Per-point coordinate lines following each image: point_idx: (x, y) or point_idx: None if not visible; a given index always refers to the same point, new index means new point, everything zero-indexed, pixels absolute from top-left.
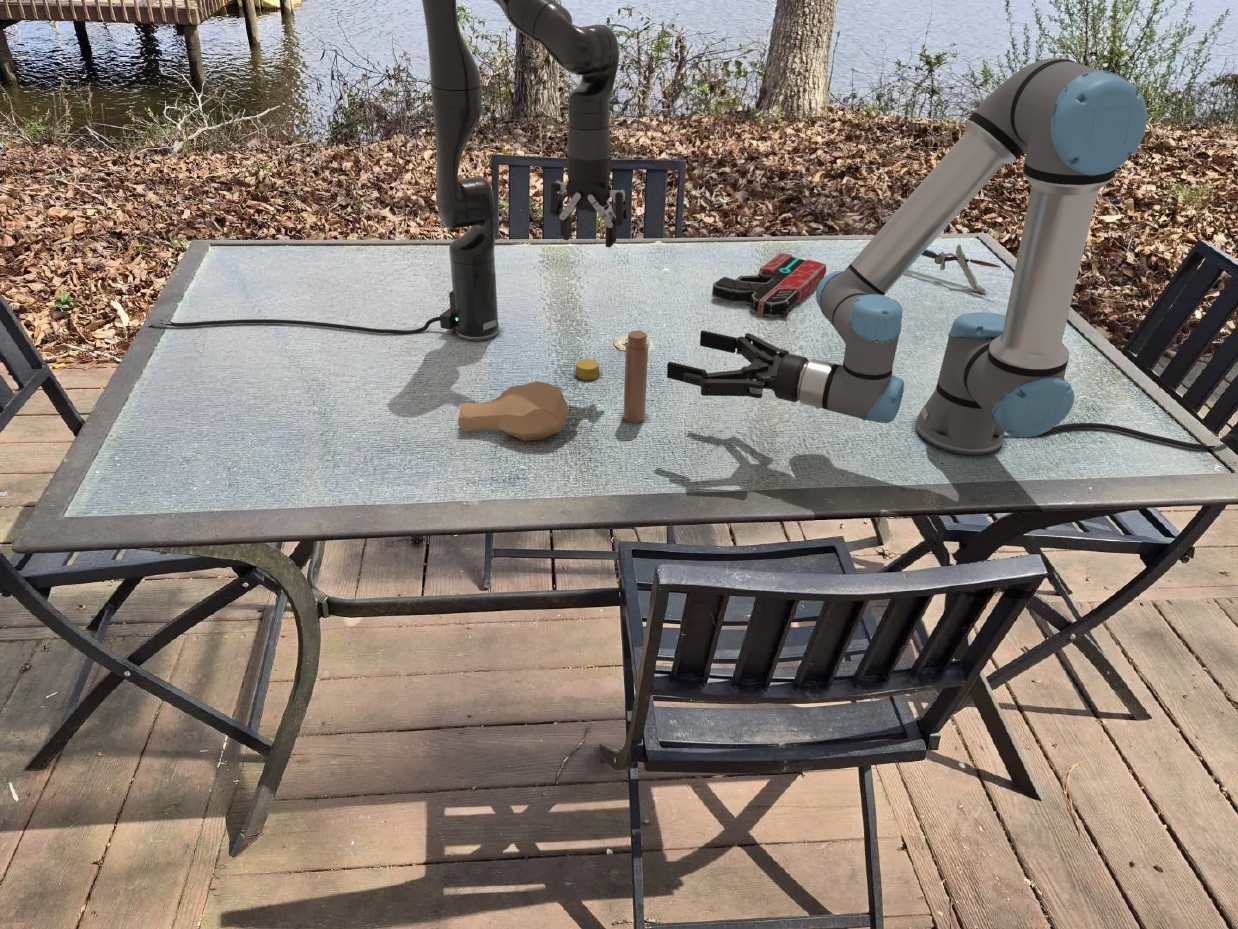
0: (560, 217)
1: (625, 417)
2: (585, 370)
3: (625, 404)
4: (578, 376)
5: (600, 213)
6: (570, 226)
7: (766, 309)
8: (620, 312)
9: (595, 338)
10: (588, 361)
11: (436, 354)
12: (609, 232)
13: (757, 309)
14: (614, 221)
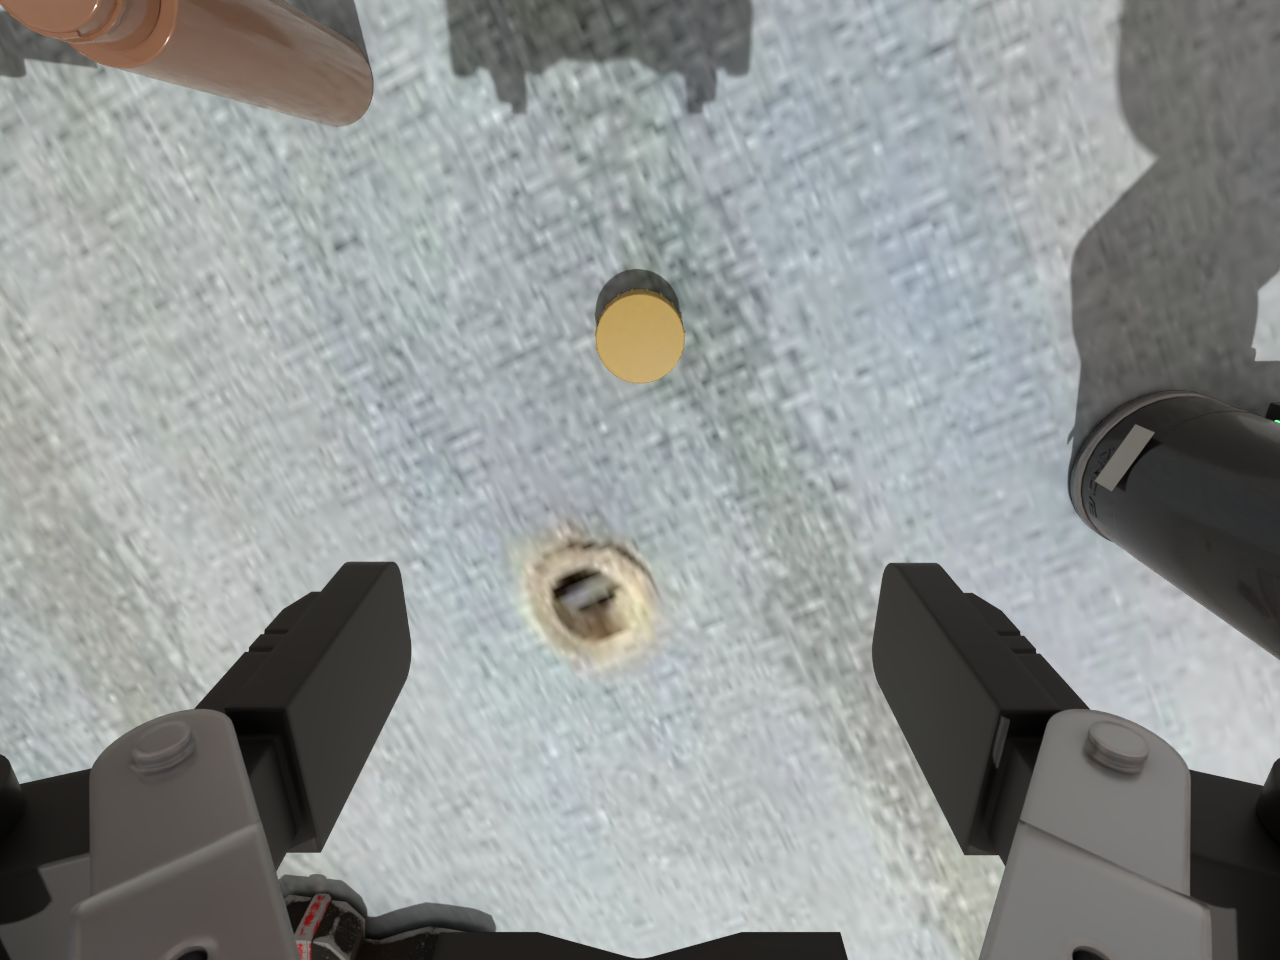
0: (1141, 740)
1: (343, 36)
2: (630, 294)
3: (320, 23)
4: (661, 293)
5: (200, 896)
6: (922, 738)
7: (295, 914)
8: (717, 773)
9: (723, 589)
10: (645, 360)
11: (1266, 234)
12: (266, 672)
13: (327, 911)
14: (73, 832)
